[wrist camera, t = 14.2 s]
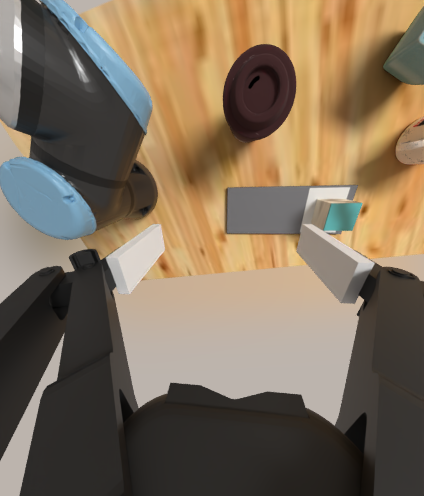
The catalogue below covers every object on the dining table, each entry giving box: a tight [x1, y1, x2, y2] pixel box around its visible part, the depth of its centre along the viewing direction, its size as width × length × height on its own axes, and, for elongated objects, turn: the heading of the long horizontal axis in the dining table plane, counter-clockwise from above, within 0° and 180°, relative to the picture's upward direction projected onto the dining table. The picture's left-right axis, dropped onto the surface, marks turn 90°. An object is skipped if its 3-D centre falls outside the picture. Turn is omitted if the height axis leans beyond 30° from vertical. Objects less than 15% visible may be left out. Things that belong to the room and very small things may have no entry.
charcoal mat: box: [227, 185, 358, 234], centre depth 41 cm, size 30×12×1 cm, turn 91°
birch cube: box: [311, 199, 362, 231], centre depth 37 cm, size 6×6×6 cm
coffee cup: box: [223, 44, 296, 142], centre depth 27 cm, size 10×10×15 cm
